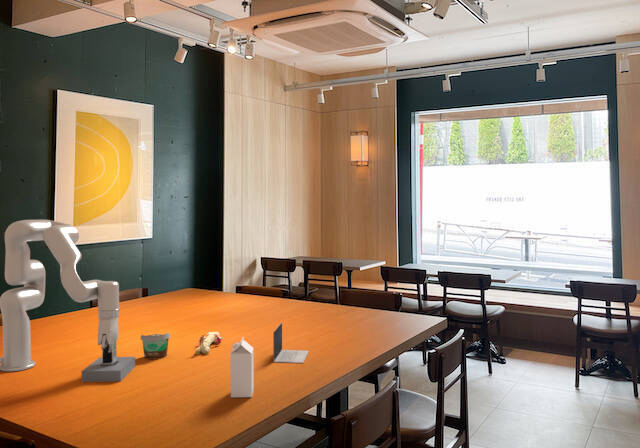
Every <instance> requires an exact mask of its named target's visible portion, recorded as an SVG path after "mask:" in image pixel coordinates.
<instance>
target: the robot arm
mask: <svg viewBox="0 0 640 448" xmlns="http://www.w3.org/2000/svg"><path fill="white" fill-rule="evenodd" d="M79 238H80V233H79V231H78V229H77V228H76V227H75V226H74V225H72V224H68V223H64V222H59V221H55V220H52V219H51V220H50V219H23V220H17V221H15V222H12V223H11V224H9V225H8V227H7V228H6V230H5V232H4V244H5V247H4V248H5V257H4V260H5V261H4V262H5V263H4V280H5V282H6V283H7V284H8V285H10V286H21V287H15V288H12V289H11V288H10V289H8V290H6V291H5V292H3V293H2V294H1V296H0V312H1V319H2V321H1V322H2V348H3V350H2V351H3V355H2V356H0V371H1V372H7V373H8V372H20V371H24V370H29V369H31V368H33V367H34V366H36V361H35V360H33V359H32V354H31V353H32V351H31V350H32V348H31V339H32V338H31V337H32V336H31V320H30V317H29V316H28V313H27V312H26V311H30V310H33V309H37V308H38V307H40V306H41V305H42V304H44V301H45V294H46V276H47V275H46V268H45V266H44V264H43V263H42V262H41V261H40V260H38V259H31V249H30V247H29V244H28V243H27V242H38V241H40V242H41V241H44V243H45V245H46V246H47V247H48V249H49V251H50V252H51V254H52V255H53V257H54V258H55V260H56V261H57V263H58V264H59V266H60V271H59V272H60V274H59V275H60V276H59V277H60V281H61V284H62V287H63V288H64V290H65V291H66V292H67V294H68V296H69V297H70V298H71V300H73V301H74V302H77V303H85V302H89V301H93V300H94V301H95V300H97V310H98V313H97V315H98V317H97V319H99V320H98V328H97V345H98V346H100V348H101V350H102V351H101V352H102V353H103V363H111V362H112V352H111V344H112V343H113V342H114V341H115V340H116V341H117V340H118V339H119V320H118V319H119V318H120V284H119V282H118V281H115V280H101V279H91V280H86V281H82V280H81V278H80V276H79V275H78V272H77V269H76V267H77V263H78V262H79V261H80V260H81V259H82V252H81V251H80V250H79V248H78V247H77V246H76V243H78V241H79ZM22 285H23V286H22ZM106 343H108V344H106ZM106 346H108V347H106ZM102 353H101V354H102Z"/></svg>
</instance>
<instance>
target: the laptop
mask: <svg viewBox="0 0 640 448" xmlns="http://www.w3.org/2000/svg"><path fill="white" fill-rule="evenodd" d="M272 334H273V338H272V340H273V345H272V347H273V348H272V349H273V355H272V356H273V361H272V362H273V363H278V364H279V363H280V364H285V363H286V364H304V362H305V360H306V358H307V356H308V355H309V351H310V350H300V349H299V350H295V349H283V323H282V322H280V324H279V325H278V326H277V327H276V328H275V330H274V331H273V333H272Z"/></svg>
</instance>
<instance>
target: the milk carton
mask: <svg viewBox="0 0 640 448" xmlns="http://www.w3.org/2000/svg"><path fill="white" fill-rule="evenodd" d="M244 339H245V337H244V336H242V337H241V340H240V342H239V343H238V342H237V341H236V342H235V343H234V344H232V350H231V352H230V356H229V357H230V358H229V359H230V363H229V364H230V398H252V397H253V395H254V391H255V390H254V388H255V386H254V383H255V382H254V380H255V379H254V377H255V376H254V375H255V374H254V371H255V369H254V366H255V365H254V347H253V346H252V345H251V344H249V343H248V342H247V341H246V340H244Z"/></svg>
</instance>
